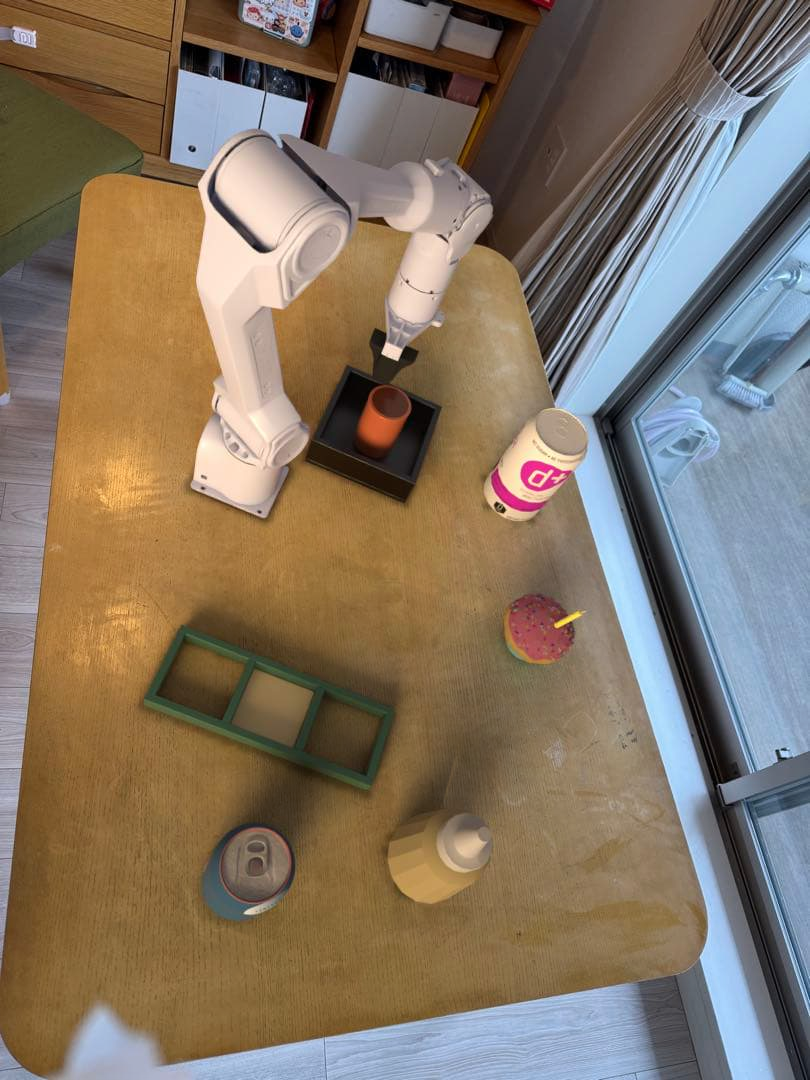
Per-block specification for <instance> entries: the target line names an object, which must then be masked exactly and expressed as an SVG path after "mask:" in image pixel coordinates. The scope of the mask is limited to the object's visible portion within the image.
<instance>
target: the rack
mask: <svg viewBox="0 0 810 1080" xmlns="http://www.w3.org/2000/svg"><path fill="white" fill-rule="evenodd" d="M185 642H187V643H190V644H192V645H195V646H197V647H200V648H202V649H204V650H207V651H210V652H213V653H215V654H218V655H220V656H223V657H224V658H225V657H226V658H228V659H231V660H233V661H236V662H237V663H241V664H243V665H245V667H244V670H243V671H242V674H241V676H240V678H239V681H238V682H237V685H236V687H235V690H234V692H233V694H232V697H231V699H230V701H229V704H228V706H227V708H226V710H225V712H224V714H223V718H222V719H219V718H216V717H213V716H212V715H209V714H206V713H203V712H200V711H198V710H195V709H194V708H191V707H188V706H186V705H183V704H180V703H178V702H175V701H173V700H169V699H167V698H164V697H162V696H159V693H160V691H161V690H162V687H163V685H164V683H165V681H166V679H167V677H168V675H169V673H170V671H171V668H173V665H174V663H175V662H176V661H175V660H176V659H177V657H178V655H179V653H180V650H181V648H182V646H183V645H184V643H185ZM323 697H327V698H329V699H332V700H334V701H337V702H340V703H342V704H344V705H347V706H349V707H352V708H355V709H357V710H359V711H363V712H364V713H368V714H370V715H372V716H375V717H377V718H380V721H379V725H378V727H377V731H376V734H375V737H374V740H373V744H372V747H371V751H370V753H369V755H368V756H369V757H368V760H367V763H366V766H365V769H364V772H363V774H362V773H359V772H357V771H354V770H352V769H349V768H347V767H343V766H341V765H339V764H336V763H333V762H331V761H329V760H326V759H323V758H321V757H318V756H315V755H313V754H311V753H307V752H306V751H304V749H305V746H306V743H307V740H308V738H309V735H310V732H311V730H312V728H313V724H314V721H315V719H316V716H317V713H318V710H319V708H320V704H321V703H322V699H323ZM143 706H145V707H148V708H151V709H153V710H155V711H158V712H161V713H164V714H166V715H169V716H171V717H174V718H177V719H179V720H181V721H185V722H187V723H189V724H192V725H195V726H198V727H200V728H202V729H205V730H208V731H211V732H213V733H215V734H218V735H220V736H221V735H222V736H224V737H227V738H229V739H232V740H234V741H236V742H239V743H242V744H244V745H247V746H250V747H252V748H255V749H258V750H261V751H262V752H265V753H268V754H271V755H274V756H276V757H279V758H281V759H283V760H287V761H289V762H292V763H294V764H297V765H299V766H302V767H305V768H308V769H310V770H312V771H315V772H318V773H320V774H323V775H325V776H328V777H331V778H333V779H337V780H339V781H342V782H344V783H347V784H349V785H351V786H354V787H357V788H359V789H362V790H365V791H367V790H369V789H370V788H371V787H372V786H373V783H374V779H375V777H376V773H377V770H378V767H379V764H380V761H381V757H382V754H383V753H382V752H383V750H384V747H385V744H386V740H387V738H388V734H389V731H390V728H391V724H392V721H393V717H394V714H395V710H396V709H395V708H393V707H391V706H389V705H386V704H383V703H380V702H378V701H376V700H373V699H370V698H368V697H366V696H363V695H360V694H358V693H355V692H353V691H350V690H348V689H346V688H344V687H343V688H342V687H340V686H338V685H336V684H333V683H330V682H327V681H325V680H322V679H320V678H318V677H315V676H312V675H310V674H308V673H305V672H303V671H300V670H297V669H295V668H292V667H290V666H287V665H284V664H282V663H280V662H277V661H274V660H273V659H269V658H267V657H265V656H261V655H259V654H257V653H254V652H252V651H249V650H247V649H244V648H241V647H239V646H236V645H234V644H232V643H229V642H226V641H224V640H221V639H219V638H216V637H214V636H211V635H208V634H207V633H204V632H201V631H199V630H197V629H193V628H191V627H189V626H186V625H184V624H181V625H180V626H179V628H178V631H177V633H176V635H175V637H174V638H173V640H172V642H171V644H170V647H168V650H167V652H166V654H165V656H164V658H163V660H162V662H161V664H160V666H159V668H158V670H157V672H156V674H155V676H154V678H153V680H152V682H151V684H150V686H149V688H148V690H147V692H146V694H145V696H144V698H143Z"/></svg>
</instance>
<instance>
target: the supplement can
mask: <svg viewBox="0 0 810 1080" xmlns="http://www.w3.org/2000/svg"><path fill="white" fill-rule="evenodd" d="M589 441H590V439H589V432H588V431H587V429H586V427H585V424H584V423H583V422H582V421H581V420H580V419H579V418H578V417H577V416H576V415H575V414H573V413H571V412H570V411H568V410H565V409H563V408H560V407H548V408H545V409H543V410H541V411H539V412H535V413H533V414H532V415H531V416H530V417H528V418H527V420H526V421H525V423H524V424H523V425H522V427H521V429H520V430H519V431H518V433H517V434H516V435H515V436H514V438H513V439H512V441H511V443H510V444H509V445H508V447H507V448H506V449H505V450H504V452H503V453H502V454H501V457H500V458H499V459H498V460H497V462H496V464H495V465H494V466H493V468H492V469H491V470H490V472H489V473H488V475H487V476H486V478H485V481H484V483H483V491H484V492H483V494H484V496H485V499H486V502H487V503H488V505H489V506H490V507H491V508H492V510H493V511H494V512H495V513H497V514H498V515H499V516H501V517H502V518H505V519H507V520H510V521H512V522H525V521H526V522H527V521H528V520H531V519H533V518H534V517H535V516H536V515H537V514H539V512H540V511H541V509H542V508H543V507H544V506H545V505H546V504H547V503H548V501H550V499H551V498H552V497H553V496H554V495H555V494H556V493H557V492H558V490H560V488H561V487H562V486H563V484H565V482H566V481H567V480H568V479H569V478H570V476H571V475H572V474H573V473H574V472H575V471H576V469H577V468H579V466H580V465H581V464H582V462H583V461H585V459H586V456H587V453H588V445H589Z"/></svg>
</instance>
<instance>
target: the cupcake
mask: <svg viewBox="0 0 810 1080" xmlns="http://www.w3.org/2000/svg"><path fill="white" fill-rule="evenodd" d="M587 610H588V609H583V610H581V609H578V610H576V611H574V612H572V613H571V614H568V613H567V610H566V609H565V608H564V607H563V605H562V604H561V603H560V602H558V601H557V600H554V599H553V598H552V597H548V596H546V595H544V594H541V593H528V594H523V596H521V597H519V598H517V599H515V600H513V601H512V602H511V603H509V605H508V606H507V607H506V609H505V611H504V614H503V615H504V616H503V626H504V632H503V633H504V639H505V644H506V647H507V649H508V651H509V652H510V654H512V656H514V657H515V658H516V659H518V660H521V661H525V662H527V663H528V664H537V665H538V664H539V665H549V664H550V665H551V664H554V663H557V662H558V661H560V660H561V659H563V658H565V656H567V654H568V653H569V652H570V650H571V648H572V645H574V644H575V643H574V640H575V637H576V633H577V631H576V630H575V626H574V622H573V620H576V619H578V618H580V617H581V616H583V614H584V613H586V612H587Z"/></svg>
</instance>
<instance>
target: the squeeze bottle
mask: <svg viewBox="0 0 810 1080" xmlns="http://www.w3.org/2000/svg"><path fill="white" fill-rule="evenodd" d="M493 846H494V839H493V835H492V832H491V829H490V827H489V826H488V824H487V823H486V822H485V820H484V819H482V818H480V817H479V816H477V815H476V814H474V813H472V812H471V811H469V810H468V809H466V808H462V807H461V808H460V807H455V806H451V807H446V808H442V809H438V810H434V811H429V812H425V813H422V814H418V815H413V816H410V817H408V818H407V819H406V820H404V821H403V822H402V823H400V824H399V825H398V826H397V827H396V829H395V831H394V832H393V835H392V836H391V838H390V840H389V843H388V851H387V860H386V861H387V864H388V868H389V872H390V876H391V879H392V880H393V882H394V883H395V885H396V886H397V888H398V889H399V890H400V892H401V893H403V894H404V895H405V896H407V897H409V898H410V900H411V899H412V900H413V901H414V902H418V903H423V904H429V905H433V904H436V903H439V902H443V901H446V900H449V899H450V898H451V897H453V896H454V895H456V894H458V893H459V892H461V891H463V890H464V889H466V888H467V887H469V886H471V885H472V884H473V883H475V882H476V881H477V880H478V879H479V878H481V876H483V875H484V874H485V872H486V871H487V868H488V866H489V863H490V861H491V858H492V857H491V855H492V853H493V848H494V847H493Z"/></svg>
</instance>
